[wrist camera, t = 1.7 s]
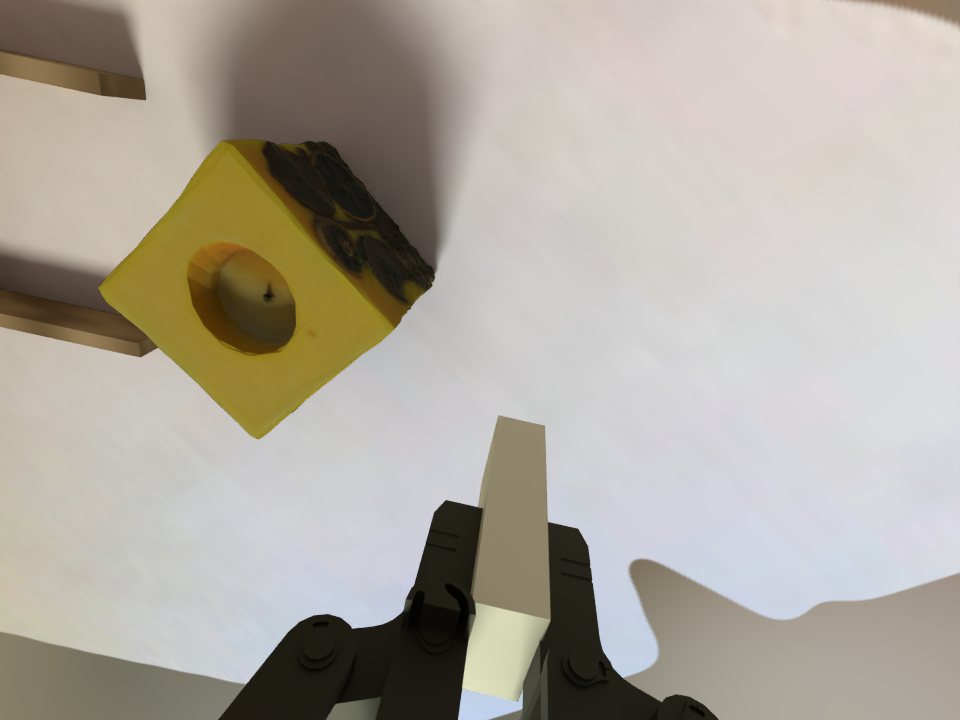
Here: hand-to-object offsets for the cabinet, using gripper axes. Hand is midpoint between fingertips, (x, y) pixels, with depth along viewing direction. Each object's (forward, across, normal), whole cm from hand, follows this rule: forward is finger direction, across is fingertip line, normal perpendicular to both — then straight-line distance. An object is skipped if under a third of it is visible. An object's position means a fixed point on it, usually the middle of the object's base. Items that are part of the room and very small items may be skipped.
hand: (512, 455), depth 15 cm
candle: (+16, -12, 0) cm, 20 cm away
